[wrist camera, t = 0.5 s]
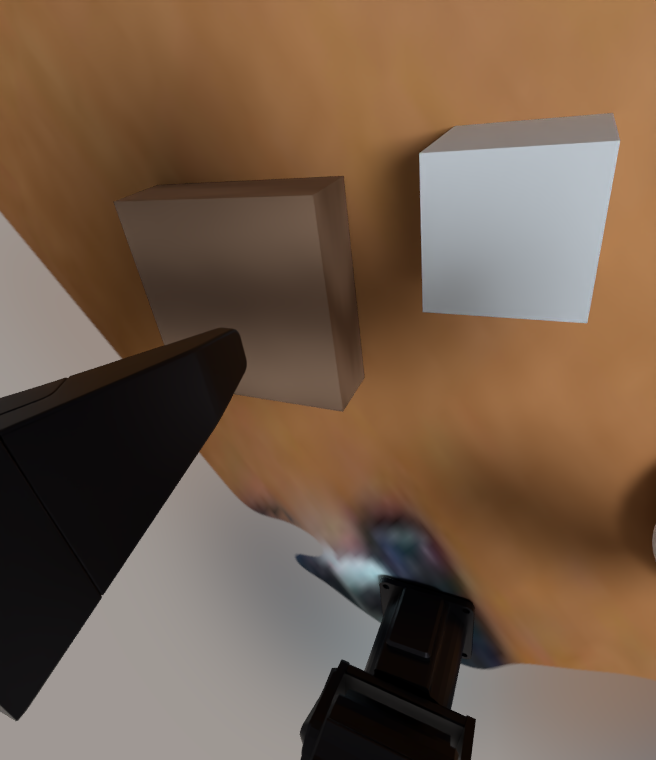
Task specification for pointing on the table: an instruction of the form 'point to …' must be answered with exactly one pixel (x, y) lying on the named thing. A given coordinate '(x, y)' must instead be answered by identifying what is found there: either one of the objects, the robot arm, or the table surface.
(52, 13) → the table surface
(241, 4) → the table surface
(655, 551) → the flower in vase
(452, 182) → the grey-blue block
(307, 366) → the brown block
